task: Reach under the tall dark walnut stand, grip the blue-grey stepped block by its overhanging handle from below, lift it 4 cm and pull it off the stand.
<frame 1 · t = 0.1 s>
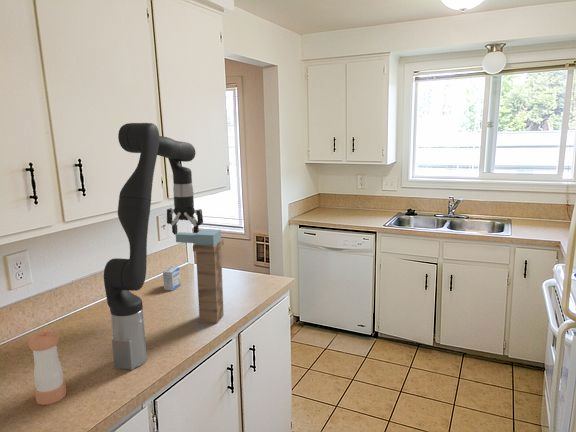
hand: (185, 234, 169), 29 cm above the worktop, tool pointing down, fingers open, 8 cm apart
salt shaker: (51, 397, 115), on the worktop
medicine box: (172, 287, 193), on the worktop
blue-grey stepped block: (198, 242, 156), point 30 cm above the worktop, touching walnut stand
walnut stand: (211, 318, 161), on the worktop
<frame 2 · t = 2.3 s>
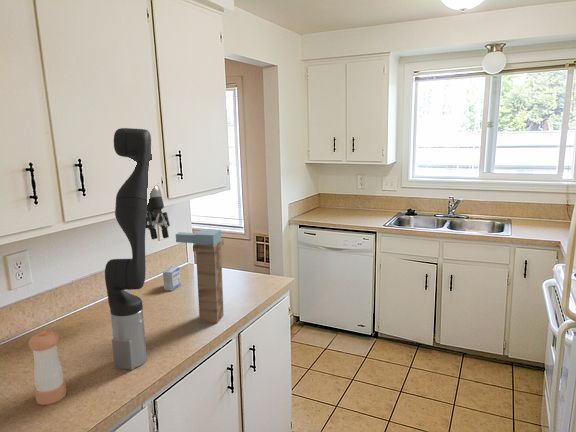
hand: (160, 238, 165), 29 cm above the worktop, tool tilted 20°, fingers open, 8 cm apart
nothing on the worktop moved.
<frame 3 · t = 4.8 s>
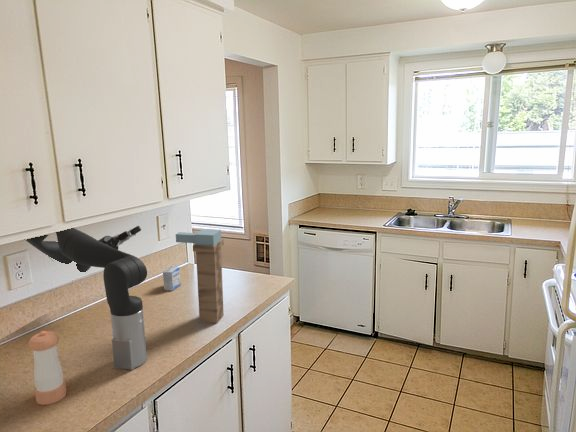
hand: (133, 230, 161), 33 cm above the worktop, tool pointing upward, fingers open, 8 cm apart
nothing on the worktop moved.
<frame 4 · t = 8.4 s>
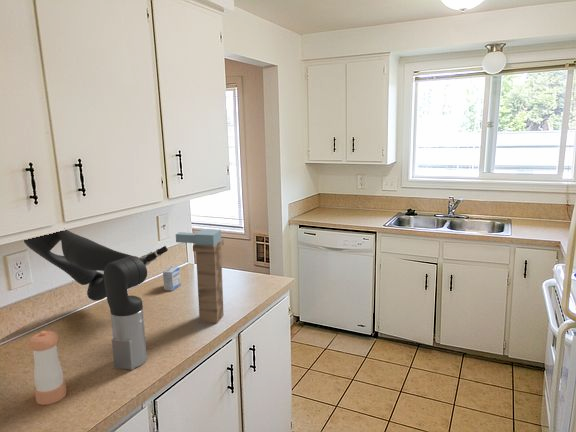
hand: (161, 251, 159), 26 cm above the worktop, tool pointing upward, fingers open, 8 cm apart
nothing on the worktop moved.
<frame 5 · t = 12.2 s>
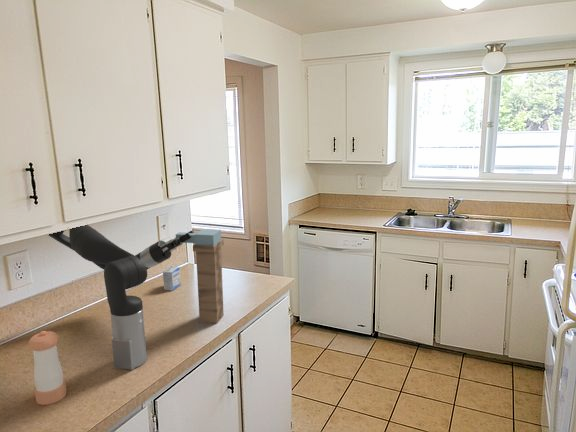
hand: (191, 234, 156), 33 cm above the worktop, tool pointing upward, fingers closed on blue-grey stepped block, 3 cm apart
blue-grey stepped block: (198, 242, 156), point 30 cm above the worktop, touching gripper, walnut stand
everything else where it was.
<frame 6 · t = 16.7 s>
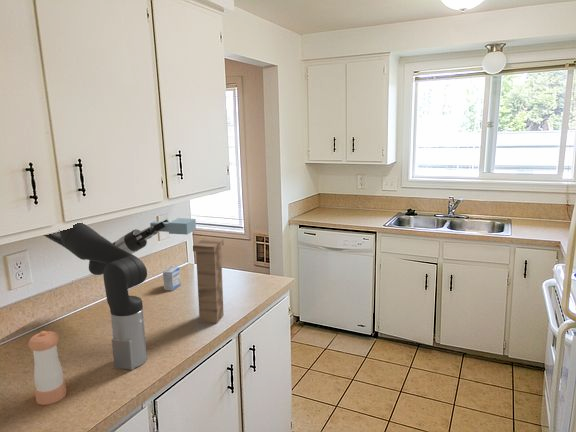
hand: (165, 222, 157), 37 cm above the worktop, tool pointing upward, fingers closed on blue-grey stepped block, 3 cm apart
blue-grey stepped block: (172, 230, 157), point 34 cm above the worktop, touching gripper
everything else where it was.
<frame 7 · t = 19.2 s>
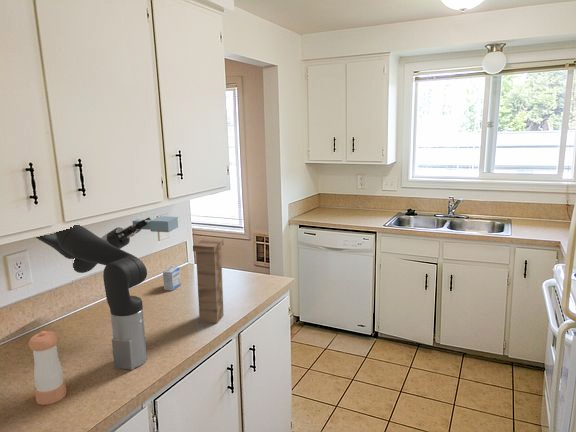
hand: (148, 220, 158), 37 cm above the worktop, tool pointing upward, fingers closed on blue-grey stepped block, 3 cm apart
blue-grey stepped block: (154, 228, 158), point 34 cm above the worktop, touching gripper
everything else where it was.
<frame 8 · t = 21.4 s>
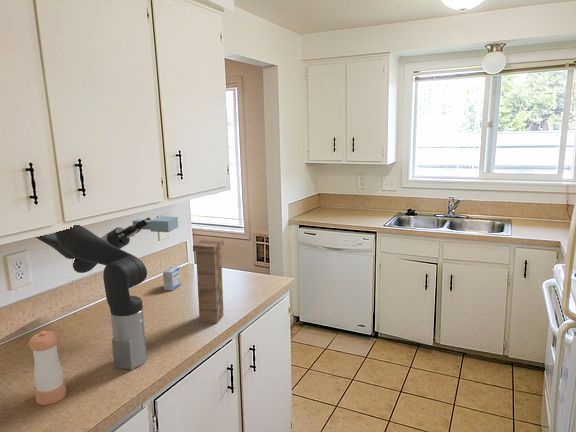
hand: (148, 220, 158), 37 cm above the worktop, tool pointing upward, fingers closed on blue-grey stepped block, 3 cm apart
blue-grey stepped block: (154, 228, 158), point 34 cm above the worktop, touching gripper
everything else where it was.
at the end: the gripper is holding blue-grey stepped block; blue-grey stepped block moved 17.5 cm from its start; blue-grey stepped block touching gripper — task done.
